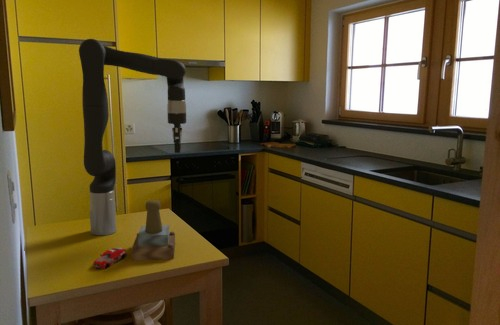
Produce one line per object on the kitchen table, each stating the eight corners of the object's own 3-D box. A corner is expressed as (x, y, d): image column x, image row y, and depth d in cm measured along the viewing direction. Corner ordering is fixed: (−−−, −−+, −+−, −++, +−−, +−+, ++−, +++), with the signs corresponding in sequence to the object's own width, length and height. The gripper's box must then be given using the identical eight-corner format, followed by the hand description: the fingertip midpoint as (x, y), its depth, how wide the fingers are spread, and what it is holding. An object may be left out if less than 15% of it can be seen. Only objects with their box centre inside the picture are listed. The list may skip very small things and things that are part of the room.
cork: (165, 229, 150) (164, 199, 148) (156, 234, 144) (155, 204, 142) (151, 226, 152) (150, 197, 150) (141, 232, 146) (140, 202, 144)
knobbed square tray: (132, 260, 142) (131, 238, 140) (137, 245, 156) (136, 224, 154) (173, 258, 144) (173, 236, 142) (175, 243, 157) (174, 223, 156)
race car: (102, 272, 134) (101, 260, 133) (89, 269, 136) (89, 257, 135) (129, 256, 146) (129, 246, 145) (117, 254, 148) (117, 243, 147)
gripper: (168, 110, 176) (169, 148, 178) (166, 112, 162) (167, 154, 165) (186, 110, 177) (187, 148, 180) (185, 112, 163) (186, 153, 166)
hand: (177, 151), depth 172 cm, fingers open, 8 cm apart
